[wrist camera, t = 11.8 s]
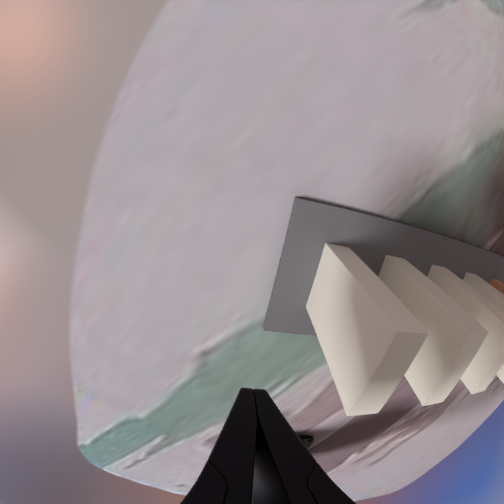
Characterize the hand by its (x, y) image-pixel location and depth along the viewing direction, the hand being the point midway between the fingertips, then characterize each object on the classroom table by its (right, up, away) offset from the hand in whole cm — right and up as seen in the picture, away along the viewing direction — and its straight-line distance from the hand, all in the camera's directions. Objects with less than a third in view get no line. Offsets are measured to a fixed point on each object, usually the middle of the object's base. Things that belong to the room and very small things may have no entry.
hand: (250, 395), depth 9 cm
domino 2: (+10, +2, +11) cm, 15 cm away
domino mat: (+15, +2, +12) cm, 20 cm away
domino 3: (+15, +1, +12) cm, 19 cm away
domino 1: (+5, +3, +11) cm, 12 cm away
